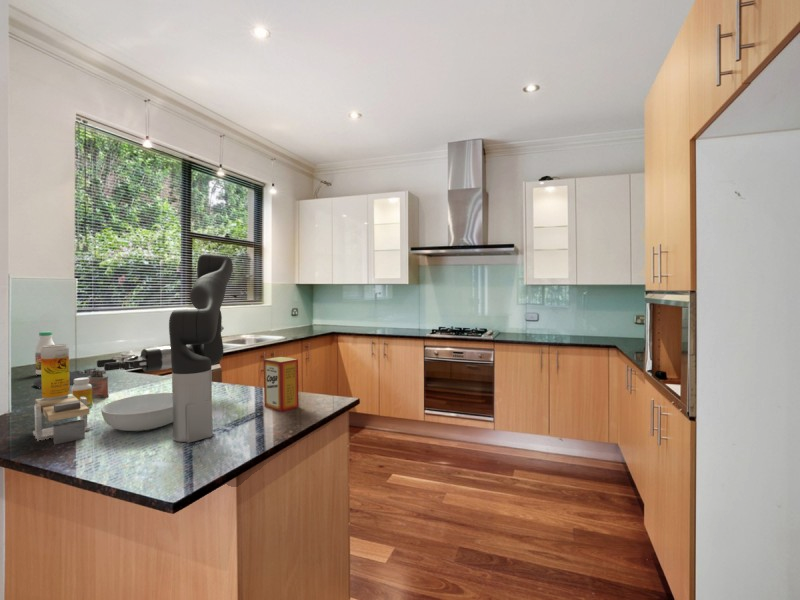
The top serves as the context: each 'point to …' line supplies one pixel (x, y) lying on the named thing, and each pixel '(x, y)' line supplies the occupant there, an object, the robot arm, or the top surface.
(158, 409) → the serving bowl
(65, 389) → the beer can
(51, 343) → the milk bottle
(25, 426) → the top surface
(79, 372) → the dark slate chunk
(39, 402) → the seesaw
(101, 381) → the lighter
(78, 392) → the supplement bottle
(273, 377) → the baking soda box
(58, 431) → the stand
